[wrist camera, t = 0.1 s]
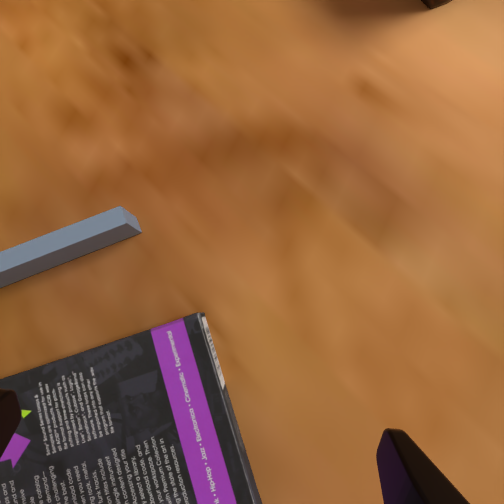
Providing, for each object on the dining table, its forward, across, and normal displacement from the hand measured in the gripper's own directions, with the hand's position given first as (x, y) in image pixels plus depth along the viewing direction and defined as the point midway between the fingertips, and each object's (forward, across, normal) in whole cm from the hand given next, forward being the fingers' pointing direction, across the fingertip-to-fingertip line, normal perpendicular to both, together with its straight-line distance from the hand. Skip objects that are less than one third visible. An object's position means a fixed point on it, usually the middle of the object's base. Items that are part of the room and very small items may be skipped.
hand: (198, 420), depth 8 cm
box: (+9, +8, +15) cm, 19 cm away
